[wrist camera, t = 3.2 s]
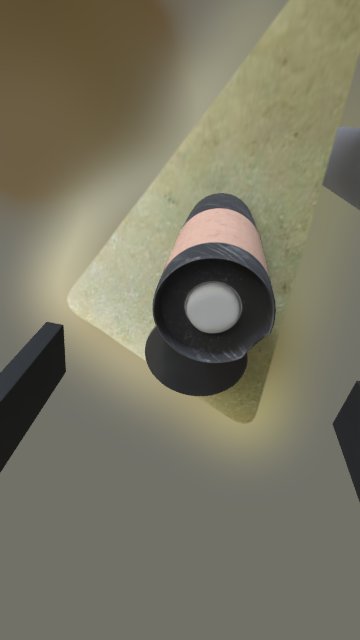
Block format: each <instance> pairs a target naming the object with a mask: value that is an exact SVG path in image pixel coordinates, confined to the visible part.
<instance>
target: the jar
mask: <svg viewBox="0 0 360 640" xmlns="http://www.w3.org/2000/svg"><path fill="white" fill-rule="evenodd" d="M145 356H146V361H147V364H148V366H149V369H150V370H151V372H152V374H153V375H154V376H155V377H156V378H157V379H158V380H159V381H160V382H161V383H162V384H164V385H165V386H166V387H168V388H170V389H172V390H174V391H176V392H179V393H182V394H186V395H191V396H209V395H214V394H218V393H220V392H223V391H225V390H227V389H229V388H230V387H232V386H233V385H234V384H236V383H237V382H238V381H239V379H240V378H241V377H242V375H243V374H244V372H245V369H246V366H247V362H248V353H247V352H246V354H245V355H244V356H243V357H242V358H240V359H238V360H235V361H231V362H224V363H207V362H201V361H197V360H193V359H191V358H188V357H186V356H184V355H182V354H180V353H179V352H177V351H176V350H174V349H173V348H172V347H171V346H170V345H169V344H168V343H167V342H166V341H165V340H164V339H163V337H162V336H161V334H160V333H159V331H158V329H157V327H156V326H155V327H154V328H153V329H152V331H151V332H150V334H149V336H148V339H147V342H146V346H145Z"/></svg>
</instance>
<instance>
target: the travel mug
mask: <svg viewBox="0 0 360 640" xmlns="http://www.w3.org/2000/svg"><path fill="white" fill-rule="evenodd" d="M275 311H276V309H275V299H274V294H273V290H272V286H271V281H270V277H269V273H268V269H267V265H266V260H265V256H264V252H263V247H262V243H261V239H260V236H259V233H258V230H257V228H256V225H255V223H254V220H253V218H252V215H251V213H250V211H249V209H248V207H247V206H246V205H245V204H244V202H243V201H241V200H240V199H239V198H237V197H235V196H233V195H230V194H224V193H218V194H213V195H210V196H208V197H205V198H204V199H202V200H201V201H200V202H199V203H198V204H197V205H196V206H195V207H194V209H193V210H192V212H191V213H190V215H189V217H188V219H187V220H186V222H185V224H184V225H183V227H182V229H181V231H180V233H179V235H178V237H177V240H176V242H175V245H174V247H173V249H172V252H171V254H170V257H169V259H168V262H167V264H166V266H165V269H164V271H163V274H162V276H161V279H160V281H159V283H158V286H157V288H156V291H155V295H154V300H153V317H154V321H155V324H156V327H157V329H158V331H159V333H160V334H161V336H162V337H163V339H164V340H165V341H166V342H167V343H168V344H169V345H170V346H171V347H172V348H173V349H174V350H176V351H177V352H179V353H180V354H182V355H184V356H186V357H188V358H191V359H193V360H197V361H201V362H207V363H224V362H231V361H235V360H238V359H240V358H242V357H243V356H244V355H245V354H246V352H247V351H248V350H249V349H251V348H252V347H253V346H254V345H255V344H256V343H258V342H259V341H260V340H261V339H262V338H264V337H265V336H268V335H269V334H270V333H271V331H272V328H273V325H274V320H275Z"/></svg>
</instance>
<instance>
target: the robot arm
mask: <svg viewBox="0 0 360 640" xmlns="http://www.w3.org/2000/svg"><path fill="white" fill-rule="evenodd" d="M64 348H65V347H64V329H63V325H60V324H55V323H50V322H46V323H45V324H44V325H43V327H42V328H41V329H40V330H39V331H38V332H37V333H36V334H35V335H34V336H33V338H32V339H31V340H30V341H29V342H28V343H27V344H26V345H25V346H24V347H23V349H22V350H21V351H20V352H19V353H18V354H17V355H16V356H15V357H14V358H13V360H12V361H11V362H10V363H9V364H8V365H7V366H6V367H5V368H4V369H3V371H2V372H1V373H0V472H1V471H2V469H3V468H4V466H5V465H6V463H7V461H8V460H9V458H10V457H11V455H12V454H13V452H14V450H15V449H16V448H17V446H18V445H19V443H20V441H21V440H22V438H23V436H24V435H25V434H26V432H27V431H28V429H29V427H30V426H31V425H32V423H33V421H34V420H35V418H36V417H37V415H38V414H39V412H40V411H41V409H42V408H43V406H44V405H45V403H46V402H47V400H48V398H49V397H50V395H51V393H52V392H53V391H54V389H55V388H56V386H57V385H58V383H59V382H60V380H61V378H62V377H63V375H64V374H65V372H66V368H65V367H66V366H65V349H64ZM333 426H334V429H335V432H336V435H337V438H338V440H339V443H340V446H341V449H342V452H343V455H344V458H345V461H346V464H347V467H348V470H349V472H350V475H351V478H352V481H353V484H354V487H355V490H356V493H357V496H358V498H359V501H360V381H356V383H355V385H354V387H353V389H352V390H351V392H350V394H349V396H348V397H347V399H346V401H345V403H344V405H343V406H342V408H341V410H340V412H339V413H338V415H337V417H336V419H335V421H334V422H333Z"/></svg>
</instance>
